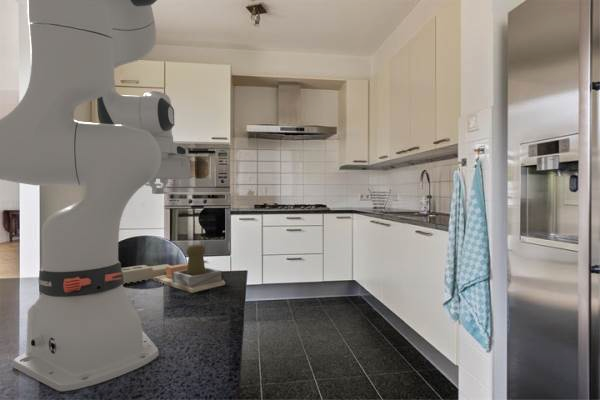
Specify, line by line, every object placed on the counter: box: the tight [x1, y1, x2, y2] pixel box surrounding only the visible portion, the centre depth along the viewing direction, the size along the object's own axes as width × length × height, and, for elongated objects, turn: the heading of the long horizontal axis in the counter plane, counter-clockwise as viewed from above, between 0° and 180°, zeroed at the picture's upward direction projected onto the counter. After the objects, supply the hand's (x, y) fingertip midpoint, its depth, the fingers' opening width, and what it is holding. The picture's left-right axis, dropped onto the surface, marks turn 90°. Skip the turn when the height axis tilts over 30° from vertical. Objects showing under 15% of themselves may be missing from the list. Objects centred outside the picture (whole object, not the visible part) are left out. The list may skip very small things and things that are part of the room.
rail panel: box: [152, 267, 226, 294], centre depth 103 cm, size 22×11×4 cm, turn 50°
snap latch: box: [166, 263, 188, 278], centre depth 107 cm, size 3×6×3 cm, turn 140°
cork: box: [186, 243, 206, 276], centre depth 100 cm, size 6×6×11 cm
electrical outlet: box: [121, 263, 172, 285], centre depth 109 cm, size 7×4×18 cm
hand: (158, 193), depth 102 cm, fingers closed
